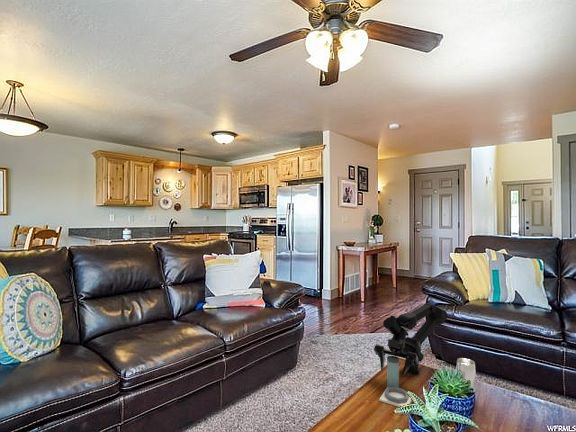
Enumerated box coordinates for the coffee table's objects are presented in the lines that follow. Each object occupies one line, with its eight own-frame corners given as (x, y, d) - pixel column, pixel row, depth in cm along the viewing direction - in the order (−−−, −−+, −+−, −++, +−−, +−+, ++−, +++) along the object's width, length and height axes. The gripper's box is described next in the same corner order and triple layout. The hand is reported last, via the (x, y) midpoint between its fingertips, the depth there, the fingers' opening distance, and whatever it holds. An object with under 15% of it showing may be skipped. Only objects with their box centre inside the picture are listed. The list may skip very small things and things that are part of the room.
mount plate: (387, 388, 143) (387, 383, 143) (413, 396, 137) (413, 390, 137) (379, 400, 133) (379, 395, 133) (407, 409, 127) (407, 403, 127)
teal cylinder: (388, 382, 148) (388, 354, 148) (400, 385, 145) (400, 357, 145) (385, 387, 144) (385, 359, 144) (397, 390, 141) (397, 361, 141)
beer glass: (462, 390, 141) (462, 356, 141) (478, 398, 135) (478, 362, 135) (453, 395, 137) (453, 360, 137) (469, 403, 131) (469, 366, 131)
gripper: (375, 327, 153) (367, 359, 144) (416, 335, 143) (411, 370, 134) (380, 338, 160) (373, 370, 150) (420, 347, 149) (415, 381, 140)
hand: (392, 372), depth 143 cm, fingers open, 9 cm apart
